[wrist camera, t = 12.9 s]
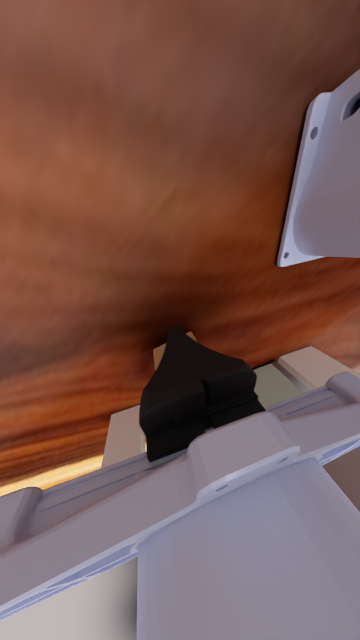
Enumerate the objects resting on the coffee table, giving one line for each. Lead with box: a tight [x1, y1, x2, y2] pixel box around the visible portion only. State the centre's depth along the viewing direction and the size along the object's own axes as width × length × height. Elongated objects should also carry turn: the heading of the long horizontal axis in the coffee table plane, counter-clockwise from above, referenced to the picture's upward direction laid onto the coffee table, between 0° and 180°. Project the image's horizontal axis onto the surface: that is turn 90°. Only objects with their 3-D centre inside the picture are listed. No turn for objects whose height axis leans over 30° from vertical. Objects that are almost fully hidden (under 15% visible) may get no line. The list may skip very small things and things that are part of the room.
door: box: [253, 361, 311, 408], centre depth 17 cm, size 2×20×6 cm, turn 103°
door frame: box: [101, 346, 360, 468], centre depth 17 cm, size 2×32×7 cm, turn 100°
